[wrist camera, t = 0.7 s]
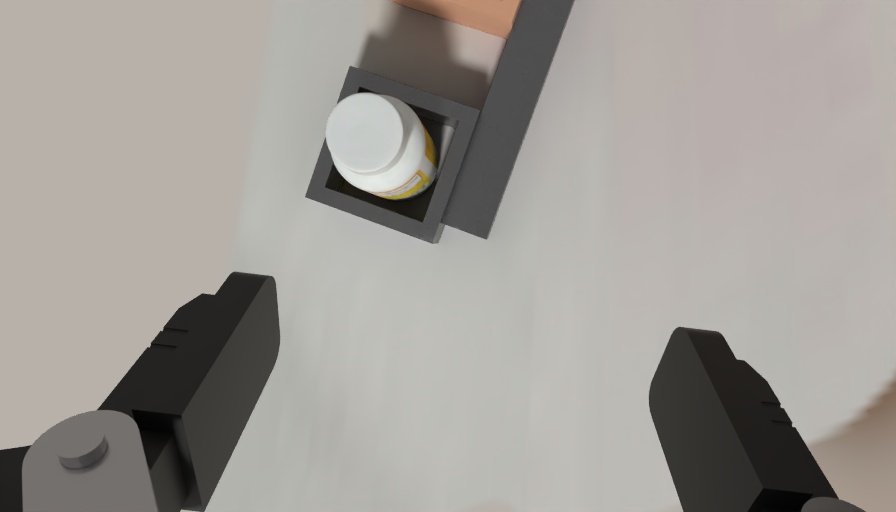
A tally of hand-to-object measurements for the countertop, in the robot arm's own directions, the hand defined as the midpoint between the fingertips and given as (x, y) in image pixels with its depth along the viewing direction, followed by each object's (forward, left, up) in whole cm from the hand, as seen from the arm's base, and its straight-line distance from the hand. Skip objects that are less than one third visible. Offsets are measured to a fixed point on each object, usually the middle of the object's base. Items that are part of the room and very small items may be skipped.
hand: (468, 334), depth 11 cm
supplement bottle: (+3, -9, -25) cm, 27 cm away
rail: (-3, -13, -25) cm, 28 cm away
